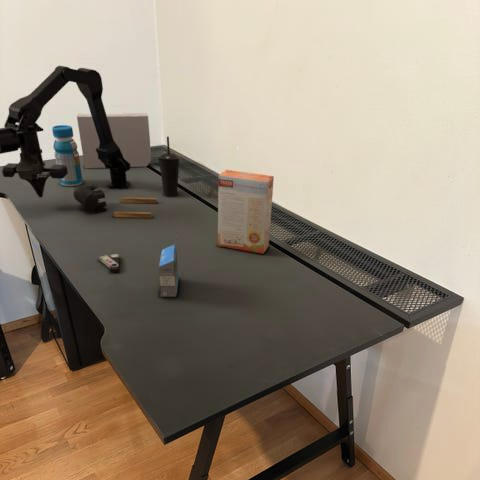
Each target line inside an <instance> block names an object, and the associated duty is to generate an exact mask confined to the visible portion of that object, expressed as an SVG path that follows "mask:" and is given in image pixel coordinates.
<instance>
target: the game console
mask: <svg viewBox="0 0 480 480" xmlns="http://www.w3.org/2000/svg"><path fill="white" fill-rule="evenodd" d="M106 116H107V119H108V122H109V126H110V129H111V133H112V136H113V140H114V141H115V143H116V144H117V145H118V147H119V148H120V150H121V152H122V154H123V157H124V159H125V160H126V161H127V162H128V163H130V168H135V167H136V168H141V167H147V166H148V165H149V164H150V163H151V162H152V149H151V137H150V136H151V135H150V122H149V114H148V113H147V112H142V113H141V112H140V113H138V112H137V113H135V112H134V113H130V112H126V113H125V112H123V113H106ZM76 120H77V127H78V133H79V140H80V146H81V152H82V159H83V165H84V169H107V168H106V167H105V165H104V163H102V162H101V160H100V159H98V154H97V152H96V148H99V144H100V142H99V138H98V135H97V132H96V128H95V125H94V122H93V119H92V116H91V113H77V114H76Z"/></svg>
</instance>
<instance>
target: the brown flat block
mask: <svg viewBox="0 0 480 480" xmlns="http://www.w3.org/2000/svg"><path fill="white" fill-rule="evenodd" d="M120 199H121V203H126V204H157V203H158V199H157V198H155V197H126V196H125V197H123V196H122V197H121V198H120ZM113 217H114V218H134V219H135V218H138V219H141V218H142V219H152V218H153V212H149V211H146V212H145V211H144V212H142V211H113Z"/></svg>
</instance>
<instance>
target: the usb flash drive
mask: <svg viewBox="0 0 480 480" xmlns="http://www.w3.org/2000/svg"><path fill="white" fill-rule="evenodd" d="M98 259H99V261H100V262H102V263H103V264H104V265H105V266H106V267H107V268H109V272H110V273H118V272H119V271H120V257H119V253H118V254H117V253H115V254H111V255H110V257H109V255H106V254H105V255H102V256H99V257H98Z"/></svg>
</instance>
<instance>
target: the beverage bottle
mask: <svg viewBox="0 0 480 480" xmlns="http://www.w3.org/2000/svg"><path fill="white" fill-rule="evenodd" d="M51 130H52V137H53V138H54V139H55V140H54V142H53V147H52V148H53V150H54V158H55V163H56V165H65V166H66V167H67V170H68V174H67V175H66V176H65V177H64V178H62V179H59V183H60V185H62V186H64V187H77V186H79V185H83V181H84V180H83V179H84V178H83V174H82V168H81V161H80V153H79V151H78V144H77V143H76V141H75V140H74V138H73V137H74V130H73V126H71V125H67V124H58V125H54V126H52V128H51Z"/></svg>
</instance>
